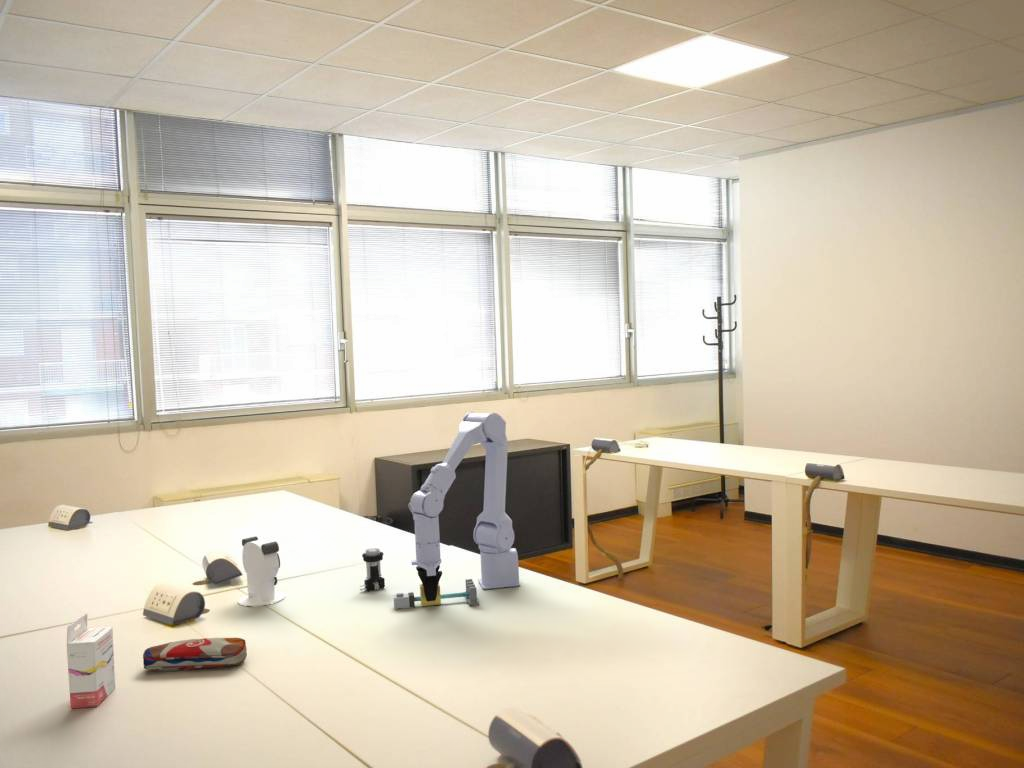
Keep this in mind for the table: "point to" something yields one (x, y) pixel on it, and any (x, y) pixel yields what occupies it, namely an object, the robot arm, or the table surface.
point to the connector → (401, 601)
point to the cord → (447, 596)
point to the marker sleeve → (427, 603)
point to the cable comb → (471, 592)
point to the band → (411, 599)
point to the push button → (373, 570)
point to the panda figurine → (260, 571)
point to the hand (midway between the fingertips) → (430, 598)
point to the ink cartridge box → (89, 664)
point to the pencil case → (195, 654)
